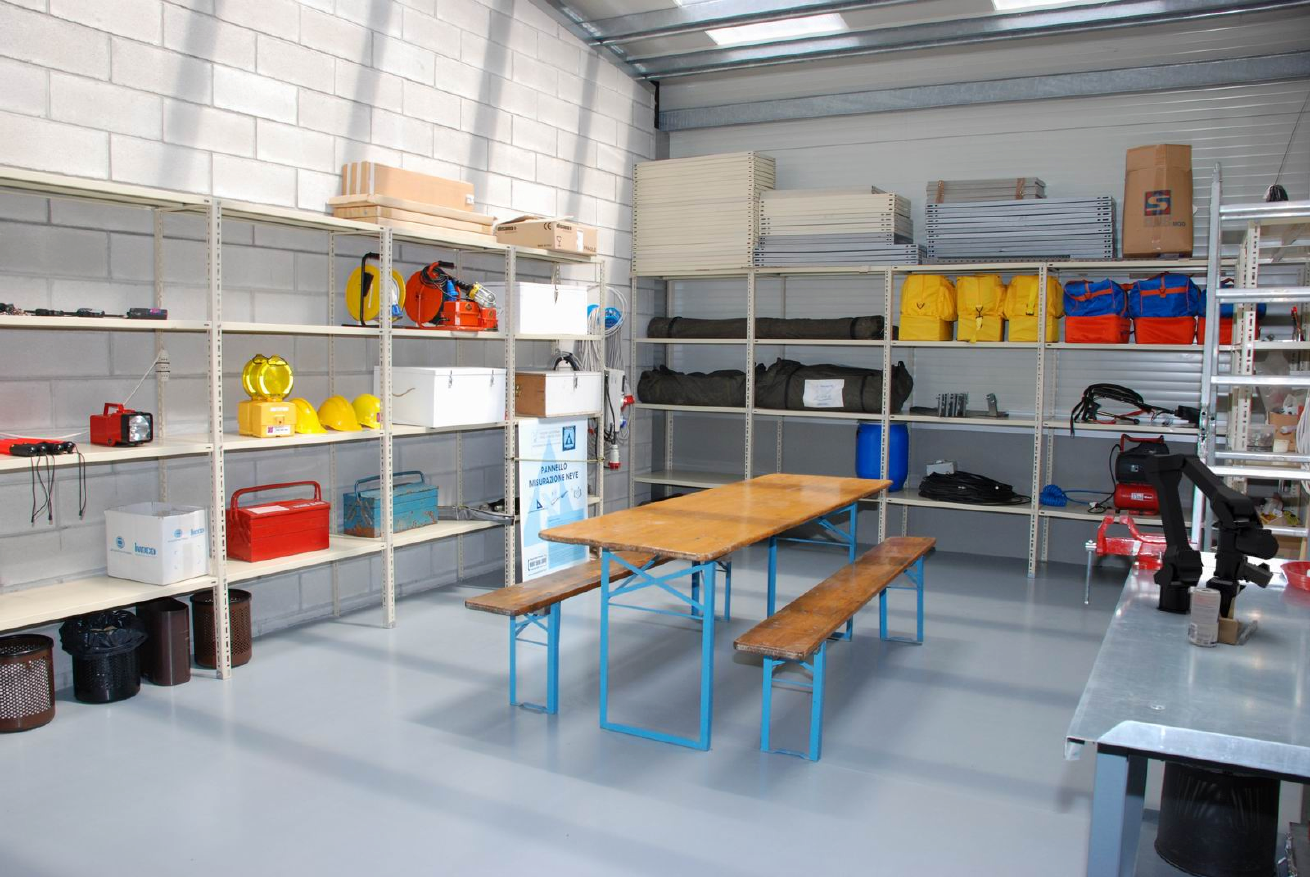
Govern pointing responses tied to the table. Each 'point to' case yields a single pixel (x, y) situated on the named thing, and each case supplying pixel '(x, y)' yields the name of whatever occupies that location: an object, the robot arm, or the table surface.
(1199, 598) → the energy drink
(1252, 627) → the clamp rails
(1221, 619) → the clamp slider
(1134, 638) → the table surface
